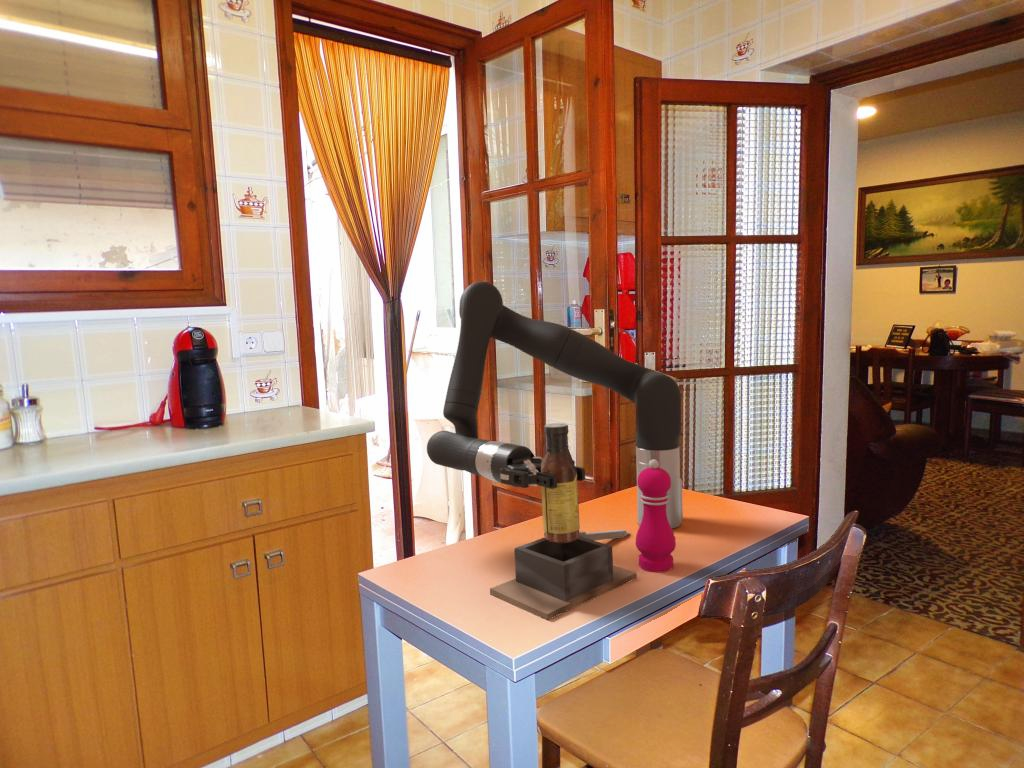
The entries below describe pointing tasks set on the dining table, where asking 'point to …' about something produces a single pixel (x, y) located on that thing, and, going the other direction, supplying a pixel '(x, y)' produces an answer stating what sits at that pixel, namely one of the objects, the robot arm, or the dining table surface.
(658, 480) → the pepper mill
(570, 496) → the sauce bottle
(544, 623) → the dining table surface
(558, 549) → the bottle caddy
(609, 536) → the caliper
